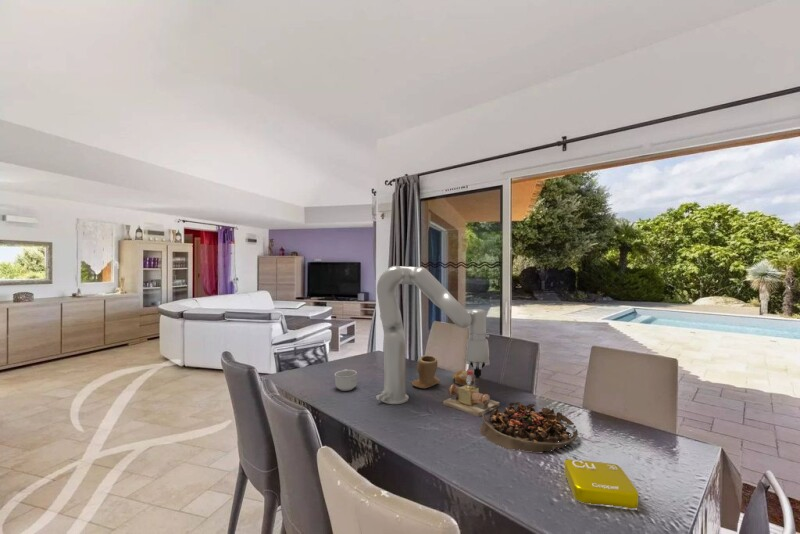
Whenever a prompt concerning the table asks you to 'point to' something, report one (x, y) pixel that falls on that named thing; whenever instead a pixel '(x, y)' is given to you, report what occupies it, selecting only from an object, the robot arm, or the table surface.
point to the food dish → (527, 428)
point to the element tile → (600, 483)
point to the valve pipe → (469, 395)
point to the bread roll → (461, 378)
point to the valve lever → (469, 377)
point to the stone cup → (426, 372)
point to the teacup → (346, 379)
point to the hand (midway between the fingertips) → (477, 377)
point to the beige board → (467, 408)
